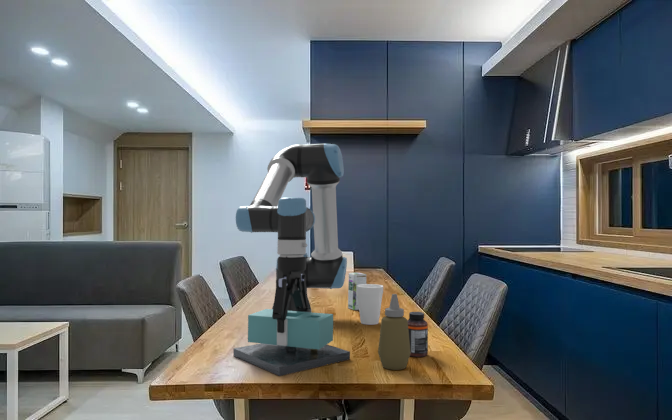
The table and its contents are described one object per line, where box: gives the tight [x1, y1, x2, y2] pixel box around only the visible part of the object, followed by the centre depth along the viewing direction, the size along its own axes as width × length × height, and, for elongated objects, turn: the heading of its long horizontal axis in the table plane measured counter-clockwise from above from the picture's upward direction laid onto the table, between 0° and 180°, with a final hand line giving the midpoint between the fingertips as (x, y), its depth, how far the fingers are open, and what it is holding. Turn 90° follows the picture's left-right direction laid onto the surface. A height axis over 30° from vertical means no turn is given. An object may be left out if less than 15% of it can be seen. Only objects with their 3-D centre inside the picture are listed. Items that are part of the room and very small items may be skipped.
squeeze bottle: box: [377, 293, 411, 371], centre depth 124 cm, size 8×8×18 cm
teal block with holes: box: [247, 308, 334, 349], centre depth 132 cm, size 20×10×7 cm, turn 70°
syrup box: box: [347, 272, 367, 311], centre depth 204 cm, size 6×6×14 cm
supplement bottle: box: [407, 311, 429, 358], centre depth 136 cm, size 6×6×11 cm
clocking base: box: [232, 343, 351, 377], centre depth 132 cm, size 22×22×8 cm
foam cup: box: [356, 283, 384, 326], centre depth 177 cm, size 10×9×13 cm
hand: (291, 340), depth 132 cm, fingers closed on teal block with holes, 10 cm apart
